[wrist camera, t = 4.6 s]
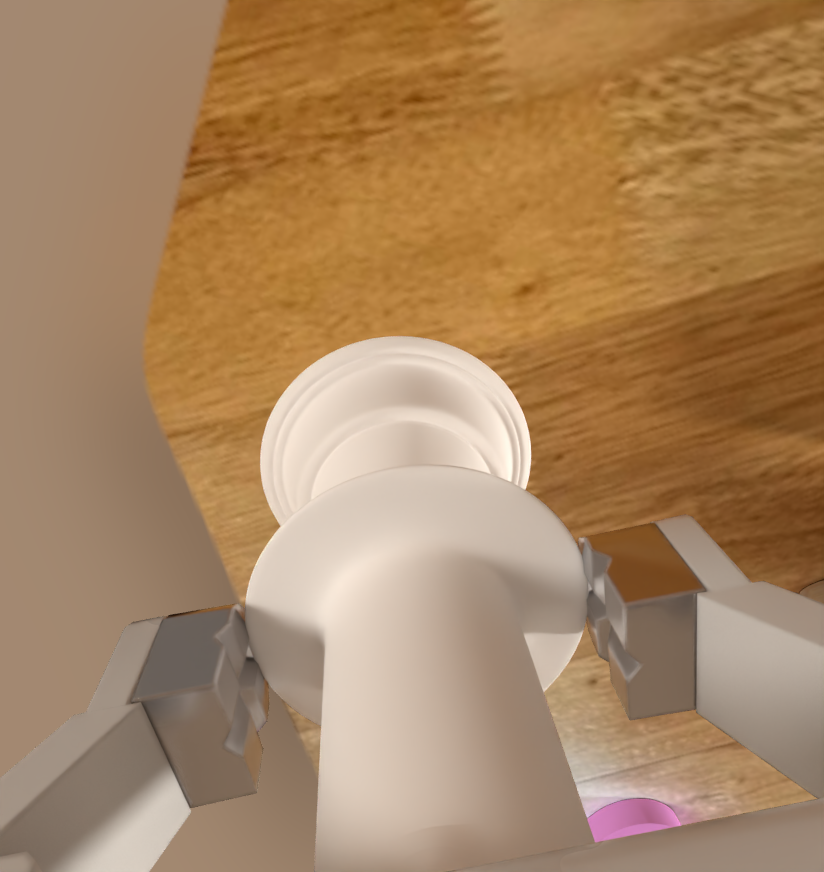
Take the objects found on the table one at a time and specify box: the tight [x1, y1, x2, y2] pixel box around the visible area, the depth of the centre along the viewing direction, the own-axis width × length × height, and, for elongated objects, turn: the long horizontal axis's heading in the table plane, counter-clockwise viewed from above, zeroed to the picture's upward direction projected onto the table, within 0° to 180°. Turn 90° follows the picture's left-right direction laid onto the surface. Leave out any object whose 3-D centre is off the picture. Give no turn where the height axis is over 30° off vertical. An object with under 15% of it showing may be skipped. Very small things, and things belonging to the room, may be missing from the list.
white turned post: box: [245, 336, 595, 872], centre depth 8 cm, size 5×5×12 cm
